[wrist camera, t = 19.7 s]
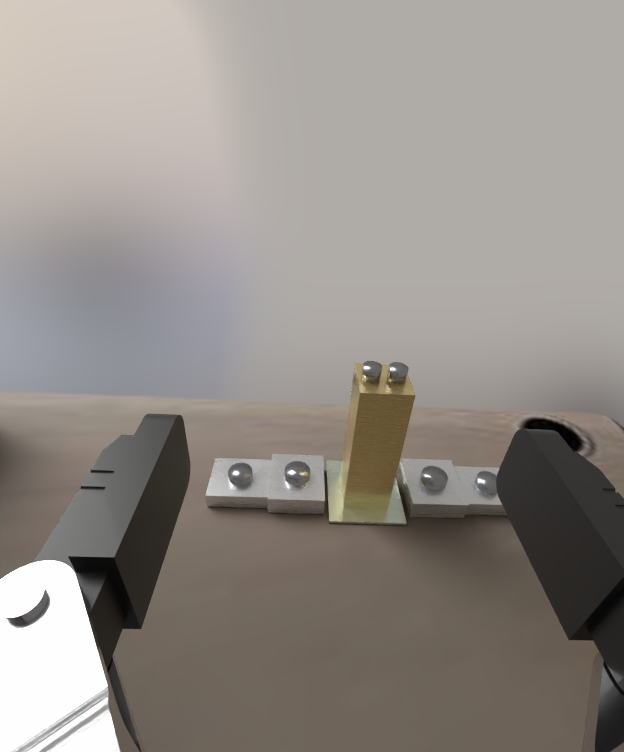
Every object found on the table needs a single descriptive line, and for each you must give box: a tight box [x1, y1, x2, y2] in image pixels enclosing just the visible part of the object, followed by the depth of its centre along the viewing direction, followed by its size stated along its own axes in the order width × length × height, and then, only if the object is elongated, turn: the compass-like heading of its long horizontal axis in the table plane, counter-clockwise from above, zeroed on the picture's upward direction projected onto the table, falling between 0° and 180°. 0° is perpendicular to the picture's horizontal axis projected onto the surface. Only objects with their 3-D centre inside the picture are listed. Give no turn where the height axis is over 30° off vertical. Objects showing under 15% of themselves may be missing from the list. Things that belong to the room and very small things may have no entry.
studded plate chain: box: [206, 454, 507, 525], centre depth 41 cm, size 32×8×3 cm, turn 90°
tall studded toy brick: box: [341, 361, 415, 508], centre depth 37 cm, size 4×4×15 cm
